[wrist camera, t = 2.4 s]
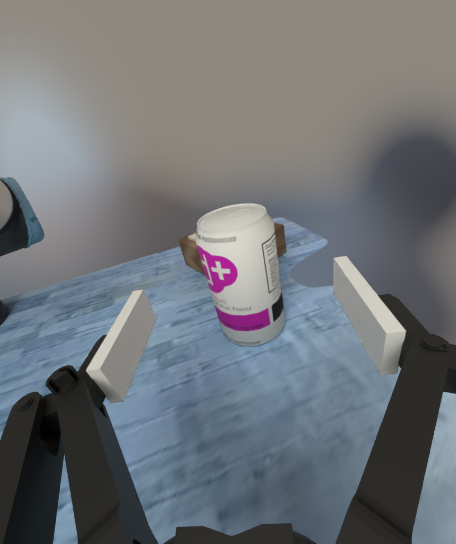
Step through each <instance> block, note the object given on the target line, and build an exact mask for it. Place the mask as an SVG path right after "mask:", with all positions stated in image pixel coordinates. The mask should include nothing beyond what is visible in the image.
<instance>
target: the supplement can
mask: <svg viewBox="0 0 456 544" xmlns="http://www.w3.org/2000/svg"><path fill="white" fill-rule="evenodd" d="M197 226H198V227H197V231H196V236H195V241H196V244H197V247H198V251H199V254H200V257H201V261H202V264H203V267H204V271H205V274H206V277H207V281H208V284H209V288H210V291H211V294H212V298H213V301H214V304H215V308H216V311H217V314H218V318H219V321H220V325H221V328H222V331H223V334H224V336H225V337H226V338H227V339H228V340H229V341H231V342H233V343H236V344H238V345H243V346H257V345H262V344H265V343H267V342H269V341H271V340H273V339H274V338H275V337H276V336H277V335H278V334H279V333H280V332H281V331H282V329H283V327H284V324H285V317H284V308H283V299H282V290H281V282H280V273H279V264H278V255H277V247H276V238H275V229H274V221H273V220H272V219H271V217H270V216H269V215H268V213H267V212H266V208H265V207H263V206H261V205H257V204H236V205H231V206H226V207H222V208H219V209H216V210H214V211H211V212H210V213H207V214H205V215H204V216H203V217H201V218H200V219H199V221H198V223H197Z"/></svg>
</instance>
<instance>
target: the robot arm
mask: <svg viewBox="0 0 456 544" xmlns="http://www.w3.org/2000/svg"><path fill="white" fill-rule="evenodd" d="M43 238H44V232H43V229H42V227H41V225H40V223H39V221H38V219H37V218H36V215H35V213H34V211H33V209H32V207H31V205H30V203H29V201H28V200H27V198H26V196H25V194H24V192H23V191H22V189H21V187H20V186H19V184H18V182H16V180H15V179H13V178H10V177H8V178H0V256H3V255H5V254H8V253H11V252H14V251H17V250H20V249H22V248H28V247H30V246H31V245H32V244H35V243H37V242H40V241H41V240H42V239H43ZM334 294H335V296H336V298H337V299H338V301H339V303H340V305H341V306H342V308H343V310H344V312H345V314H346V315H347V317H348V319H349V321H350V323H351V324H352V326H353V328H354V330H355V331H356V333H357V335H358V337H359V339H360V340H361V342H362V344H363V346H364V348H365V349H366V351H367V353H368V355H369V356H370V358H371V360H372V362H373V364H374V365H375V367H376V369H377V371H378V373H379V374H380V375H386V374H396V373H397V372H398V367H399V366H400V367H401V371H400V374H399V377H398V379H397V382H396V385H395V388H394V390H393V393H392V396H391V399H390V401H389V404H388V407H387V409H386V412H385V415H384V418H383V420H382V423H381V426H380V429H379V431H378V434H377V437H376V440H375V442H374V445H373V448H372V451H371V453H370V456H369V459H368V462H367V464H366V467H365V470H364V473H363V475H362V478H361V481H360V484H359V486H358V489H357V492H356V494H355V495H354V497H353V499H352V501H351V503H350V506H349V508H348V511H347V514H346V516H345V519H344V522H343V525H342V527H341V530H340V533H339V535H338V538H337V541H336V544H411V543H412V531H413V526H414V522H415V517H416V513H417V508H418V504H419V499H420V494H421V490H422V485H423V481H424V476H425V472H426V467H427V463H428V458H429V453H430V449H431V444H432V440H433V435H434V431H435V426H436V421H437V417H438V412H439V408H440V403H441V399H442V394H443V392H448V393H454V394H456V345H453V344H449V343H448V342H447V341H446V340H444V339H443V338H441V337H439V336H436V335H434V334H430V333H429V332H428V331H427V330H426V329H425V328H424V327H423V326H422V325H421V323H420V322H419V321H418V320H417V319H416V318H415V317H414V316H413V315H412V314H411V313H410V311H409V310H408V309H407V308H406V307H405V306H404V305H403V303H402V302H401V301H400V300H399V299H397V298H396V297H394V296H392V295H390V294H385V295H377V294H376V293H375V292H374V290H373V289H372V288H371V287H370V285H369V284H368V283H367V282H366V280H365V279H364V278H363V277H362V275H361V274H360V273H359V272H358V270H357V269H356V268H355V267H354V265H353V264H352V263H351V262H350V260H349V259H348V258H347V257H346V256H343V257H337V258H334ZM7 314H8V308H7V307H6V306H5V305H4V303H3V302H2V301H1V300H0V324H1V323H2V322H3V320H4V319H5V318H6V316H7ZM156 319H157V318H156V316H155V314H154V312H153V310H152V308H151V305H150V303H149V301H148V299H147V297H146V295H145V293H144V291H143V290H137V291H133V292H132V294H131V295H130V297H129V299H128V301H127V302H126V304H125V306H124V307H123V309H122V311H121V312H120V314H119V316H118V317H117V319H116V321H115V322H114V324H113V326H112V327H111V329H110V331H109V332H108V334H107V335H103V336H102V337H101V338H100V339H99V340H98V341H97V342H96V343H95V345H94V346H93V348H92V350H91V351H90V353H89V354H88V356H87V358H86V359H85V361H84V362H83V364H82V366H81V367H80V369H79V370H78V372H77V371H76V370H75V369H74V367H73V366H71V365H67V366H63V367H61V368H59V369H58V370H56V371H55V372H53V373H52V374H51V376H50V377H49V378H48V380H47V381H46V386H47V387H48V389H49V390H50V391H51V392H52V393H51V394H48V395H46V396H43V397H42V396H41V395H40V394H39V393H38V392H32V393H29V394H27V395H25V396H24V397H22V398H21V399H20V400H19V401H17V403H16V404H15V405H14V406H13V408H12V409H11V411H10V414H9V417H8V420H7V423H6V426H5V428H4V431H3V434H2V437H1V440H0V544H53V539H54V531H55V523H56V515H57V507H58V499H59V491H60V483H61V475H62V467H63V459H64V454H65V461H66V467H67V473H68V479H69V486H70V492H71V498H72V504H73V511H74V517H75V523H76V529H77V535H78V544H158V542H157V540H156V538H155V537H154V535H153V534H152V532H151V530H150V527H149V525H148V522H147V519H146V517H145V514H144V511H143V508H142V506H141V503H140V500H139V497H138V495H137V492H136V489H135V487H134V484H133V481H132V478H131V476H130V473H129V470H128V467H127V465H126V462H125V459H124V457H123V454H122V451H121V448H120V446H119V443H118V440H117V437H116V435H115V432H114V429H113V427H112V424H111V421H110V418H109V416H108V413H107V410H106V407H105V406H104V405H103V401H104V399H105V397H106V398H107V399H108V400H109V402H110V403H116V402H124V399H125V397H126V394H127V392H128V389H129V387H130V384H131V382H132V379H133V377H134V374H135V372H136V369H137V367H138V364H139V362H140V359H141V357H142V354H143V352H144V349H145V347H146V344H147V341H148V339H149V336H150V334H151V331H152V329H153V326H154V324H155V321H156ZM164 544H316V543H315V542H314V541H312V540H311V539H309V538H308V537H306V536H304V535H302V534H300V533H297V532H294V531H293V529H292V524H291V523H287V524H261V525H259V526H257V527H254V528H252V529H249V530H247V531H244V532H242V533H240V534H237V535H234V536H229V535H226V534H224V533H221V532H218V531H215V530H213V529H210V528H207V527H204V526H192V527H177V528H176V535H175V537H173V538H171V539H169V540H168V541H166V542H165V543H164Z"/></svg>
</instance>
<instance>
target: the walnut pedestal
mask: <svg viewBox="0 0 456 544" xmlns="http://www.w3.org/2000/svg"><path fill="white" fill-rule="evenodd" d="M274 229H275V238H276V247H277V255H278V257H280V256H281V255H283V254H284V253H286V246H285V235H284V225H282V224H277V223H274ZM195 236H196V232H195V233H193V234H191V235H188V236H186V237H184V238H182V239H180V240H179V244H180V247H181V250H182V253H183V256H184V259H185V262H186V265H188V266H190V267H191V268H193V269H195V270H197V271H198V272H200V273H202V274H203V275H205V276H206V274H205V271H204V267H203V264H202V261H201V257H200V254H199V251H198V247H197V244H196V241H195Z"/></svg>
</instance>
